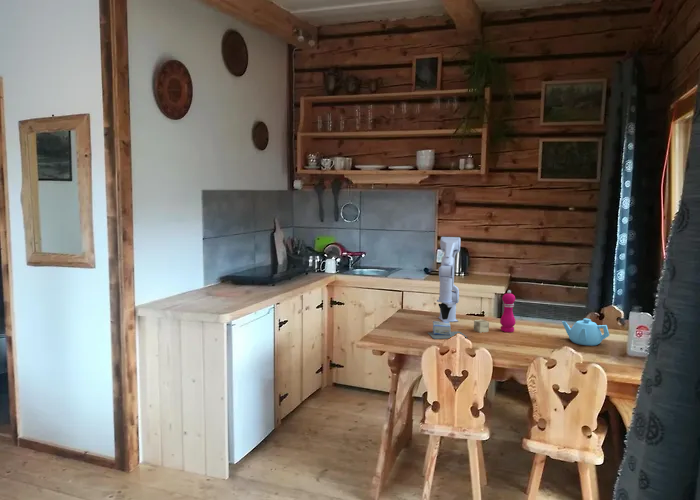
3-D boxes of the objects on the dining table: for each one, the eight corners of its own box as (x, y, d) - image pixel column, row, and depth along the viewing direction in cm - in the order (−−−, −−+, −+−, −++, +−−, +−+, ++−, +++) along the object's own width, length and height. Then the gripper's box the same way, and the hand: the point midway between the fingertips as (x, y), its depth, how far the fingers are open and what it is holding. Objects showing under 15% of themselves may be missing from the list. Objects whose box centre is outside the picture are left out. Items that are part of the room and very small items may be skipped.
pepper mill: (498, 331, 264) (500, 290, 262) (500, 328, 271) (502, 288, 268) (514, 333, 261) (516, 292, 259) (515, 329, 268) (517, 289, 266)
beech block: (473, 330, 266) (473, 320, 266) (482, 329, 268) (482, 319, 268) (479, 333, 262) (480, 322, 261) (488, 331, 264) (488, 321, 263)
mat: (427, 333, 260) (427, 332, 260) (459, 332, 263) (459, 331, 263) (433, 339, 250) (433, 338, 250) (467, 338, 253) (467, 337, 253)
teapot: (580, 348, 239) (582, 324, 238) (559, 338, 254) (561, 315, 252) (610, 346, 243) (612, 322, 241) (588, 336, 257) (590, 314, 256)
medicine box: (449, 321, 263) (450, 326, 255) (449, 330, 264) (450, 335, 255) (432, 321, 264) (433, 325, 255) (432, 330, 265) (433, 334, 256)
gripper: (432, 288, 265) (432, 315, 266) (442, 294, 250) (441, 323, 252) (447, 287, 266) (446, 315, 267) (457, 293, 251) (456, 322, 253)
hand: (444, 319), depth 260 cm, fingers closed
